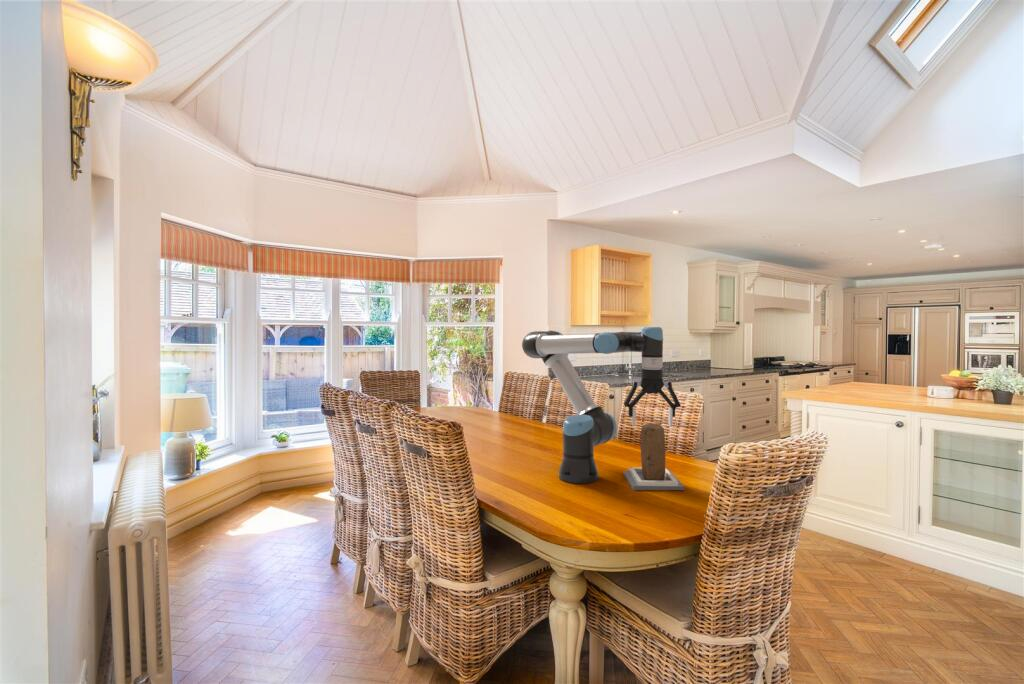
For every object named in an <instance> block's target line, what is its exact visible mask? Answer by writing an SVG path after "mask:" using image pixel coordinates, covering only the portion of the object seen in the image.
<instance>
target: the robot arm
mask: <svg viewBox="0 0 1024 684" xmlns="http://www.w3.org/2000/svg"><path fill="white" fill-rule="evenodd" d="M663 333H664V331H663V328H662V327H660V326H643V327H642V328H641V331H616V332H609V331H608V332H606V331H605V332H593V333H591V332H590V333H571V334H570V333H569V334H563V333H562V332H560V331H557V330H546V331H545V330H544V331H543V330H542V331H541V330H540V331H537V330H535V331H530V332H529V333H527V334H526V335H525V336H524V337H523V339H522V343H521V348H522V351H523V353H524V354H525V355H526V356H528V357H529V358H531V359H541V360H542V361H543V363H544V365H545V366H546V367H550V369H551V371H552V372H553V374H554V376H555V377H556V379H557V381H558V383H559V384H560V387H561V388H562V390H563V391H564V393H565V395H566V397H567V399H568V401H569V402H570V405H571V406H572V407H573V409H574V411H575V412H576V415H575V414H573V415H570V416H567V417H566V418H564V420H563V421H562V423H563V424H562V451H563V453H562V460H561V464H560V466H559V470H558V479H560V480H561V481H564V482H566V483H571V484H589V483H590V484H591V483H593V482H596V481H597V480H599V470H598V467H597V464H596V461H595V458H594V448H595V447H596V446H599V445H602V444H606V443H608V442H609V441H611V440H612V439H614V437H615V436H616V433H617V430H618V429H617V422H616V420H615V418H614V417H613V416H612V414H610V413H607V412H605V411H604V409H603V408H602V406H601V405H599V404H596V403H595V401H594V400H593V398H592V396H591V394H590V392H589V391H588V389H587V388H586V386H585V384H584V383H583V381H582V379H581V377H580V376H579V374H578V372H577V370H576V369H575V367H574V366H573V364H572V362H571V360H570V358H569V357H568V356H569V354H572V355H573V354H575V355H576V354H605V355H609V354H616V353H617V354H619V353H628V352H629V353H630V352H631V353H637V352H638V353H641V368H642V369H641V381H636V380H633V381H632V385H631V386H632V387H631V388H630V390H629V392H628V394H627V397H626V398H625V400H624V402H623V406H624V407H627V408H628V416H629V417H630V419H631V422H630V423H631V426H632V427H635V426H636V425H635V424H636V408H635V406H636V405H637V403H638V402H639V401H640V400H641V399H642V398H643V396H644V395H646V394H648V395H651V394H653V395H657V394H659V395H660V396H661V397H662V398H663V399H664V401H665V402H666V403H667V405H669V406H670V407H668V411H667V412H668V413H667V417H668V418H667V419H668V424H667V425H668V426H669V427H673V418H676V408H680V407H681V403H680V401H679V399H678V397H677V395H676V393H675V390H674V389H673V386H672V385H673V384H672V382H671V381H669V380H667V381H664V379H663V376H664V375H663V374H664V373H663V372H664V371H663V369H662V368H664V362H663V359H664V357H663V354H664V353H663V352H664V351H663V349H664V346H663V345H664V334H663ZM664 386H665V388H666V389H667V391H668V393H669V395H670V396H671V399H672V400H671V399H670V398H669V397H668V396H667V395H666V393H665V392H664V391H663V387H664ZM639 387H641V389H640V391H639V392H638V394H637V395H635V397H634V394H635V393H636V390H637V389H638V388H639ZM633 397H634V398H633ZM632 398H633V399H632Z"/></svg>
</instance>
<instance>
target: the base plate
mask: <svg viewBox="0 0 1024 684" xmlns="http://www.w3.org/2000/svg"><path fill="white" fill-rule="evenodd" d="M624 475H625V476H624ZM623 476H624V478H625V477H626V478H625V480H626V481H627V483H628V482H629V483H628V485H629V484H630V485H629V487H630V486H631V487H630V488H631V491H636V490H684V491H686V490H685V486H684V484H682V482H681V481H680V480H679V479H678V478H677V477H676V476H675V475H674V474H673V472H672V471H671V470H669V469H667V468H666V467H665V478H664V480H662V481H658V480H646V479H644V477H643V474H642V466H641V467H640V466H639V467H638V466H637V467H635V466H634V467H628V470H623Z"/></svg>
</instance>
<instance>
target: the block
mask: <svg viewBox="0 0 1024 684" xmlns="http://www.w3.org/2000/svg"><path fill="white" fill-rule="evenodd" d="M665 436H666V434H665V428H664V427H663V426H662V425H661V424H658V423H647V424H646V423H645V424H643V425H642V427H641V431H640V461H641V468H642V474H643V477H644V479H646V480H658V481H662V480H664V478H665V468H666V438H665Z"/></svg>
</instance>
